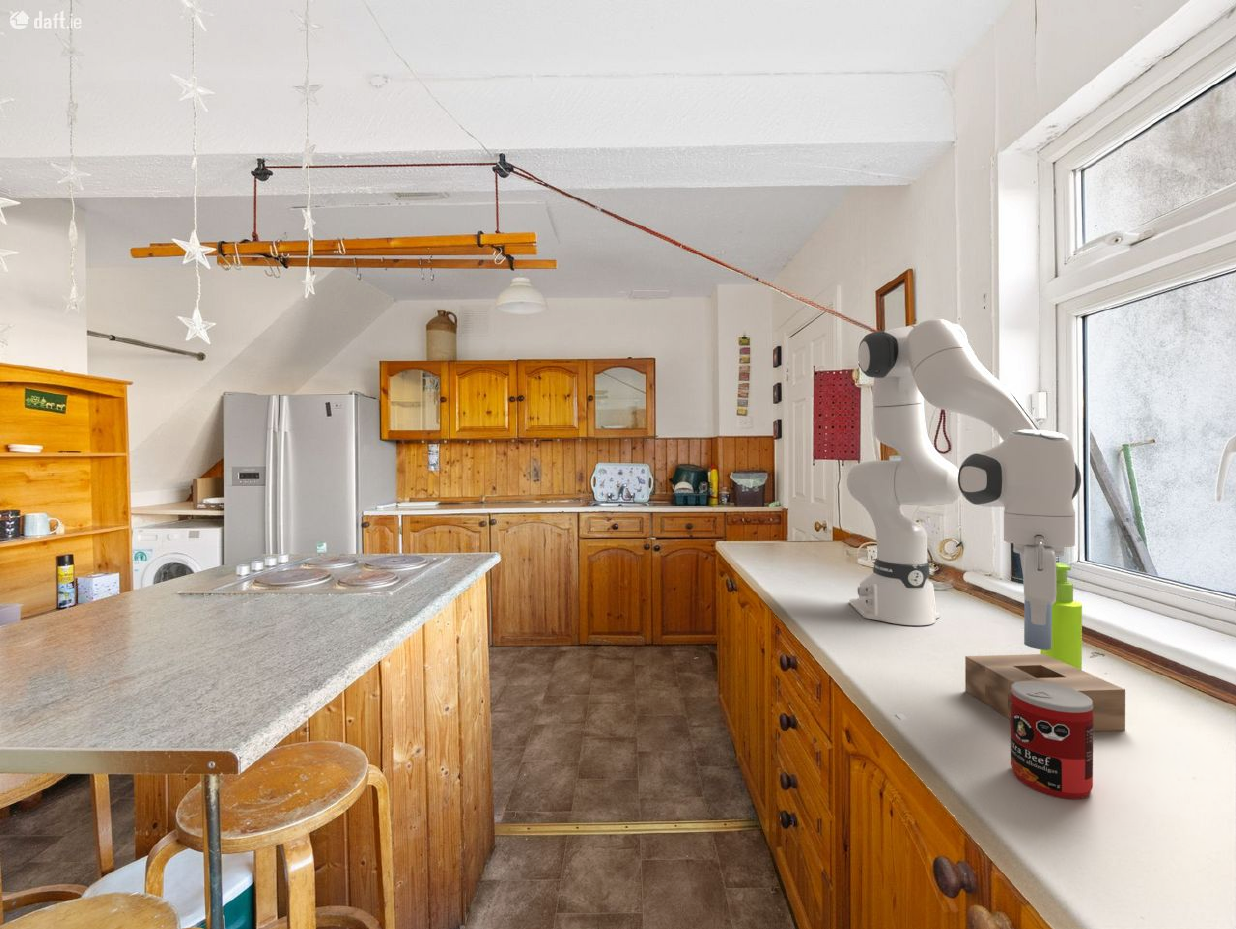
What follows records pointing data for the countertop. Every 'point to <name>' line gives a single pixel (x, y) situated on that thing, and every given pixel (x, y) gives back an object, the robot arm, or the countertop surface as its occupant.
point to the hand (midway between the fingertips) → (1037, 620)
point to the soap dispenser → (1066, 622)
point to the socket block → (999, 672)
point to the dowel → (1037, 629)
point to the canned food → (1052, 738)
